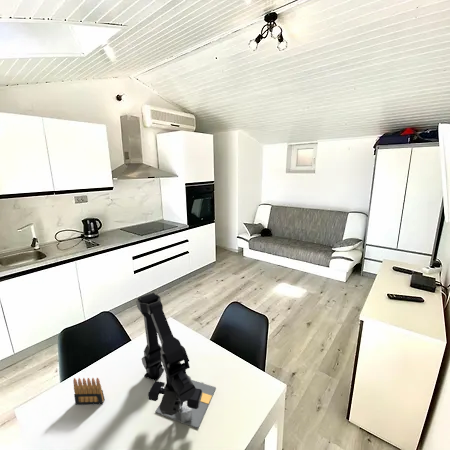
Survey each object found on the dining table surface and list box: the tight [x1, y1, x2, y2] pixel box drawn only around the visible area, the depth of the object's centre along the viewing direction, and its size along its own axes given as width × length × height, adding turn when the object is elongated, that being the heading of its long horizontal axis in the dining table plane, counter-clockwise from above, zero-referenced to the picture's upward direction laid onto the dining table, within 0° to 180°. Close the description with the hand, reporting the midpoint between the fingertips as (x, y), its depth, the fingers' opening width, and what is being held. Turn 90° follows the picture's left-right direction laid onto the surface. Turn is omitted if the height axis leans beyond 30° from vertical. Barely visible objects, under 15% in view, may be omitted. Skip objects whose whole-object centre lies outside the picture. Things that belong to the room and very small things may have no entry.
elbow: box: [180, 375, 192, 424], centre depth 96 cm, size 16×7×4 cm, turn 15°
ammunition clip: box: [73, 377, 105, 406], centre depth 96 cm, size 11×2×12 cm, turn 90°
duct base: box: [155, 379, 217, 430], centre depth 97 cm, size 18×17×3 cm
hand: (176, 412), depth 90 cm, fingers closed
